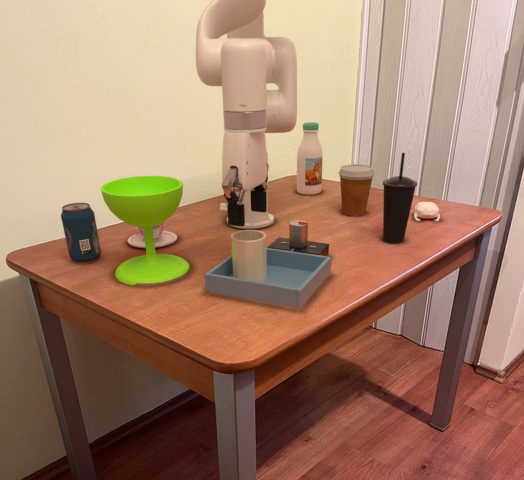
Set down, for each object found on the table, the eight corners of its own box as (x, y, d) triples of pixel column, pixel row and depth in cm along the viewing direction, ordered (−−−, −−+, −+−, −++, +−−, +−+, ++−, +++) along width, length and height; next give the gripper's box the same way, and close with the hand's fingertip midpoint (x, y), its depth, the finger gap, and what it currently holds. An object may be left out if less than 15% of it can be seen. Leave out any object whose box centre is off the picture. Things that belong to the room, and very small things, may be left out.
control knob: (286, 246, 118) (286, 223, 115) (293, 240, 121) (293, 217, 118) (303, 249, 116) (304, 225, 113) (309, 243, 119) (310, 219, 117)
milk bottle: (295, 194, 165) (296, 125, 155) (297, 188, 172) (299, 121, 161) (320, 195, 164) (323, 125, 154) (322, 189, 170) (324, 121, 160)
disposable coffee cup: (376, 210, 150) (380, 166, 143) (362, 219, 143) (366, 173, 137) (345, 206, 154) (348, 162, 148) (330, 214, 147) (332, 169, 141)
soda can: (68, 256, 123) (57, 204, 117) (99, 251, 125) (90, 200, 119) (72, 266, 118) (60, 212, 111) (104, 261, 120) (94, 208, 114)
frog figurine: (441, 222, 140) (443, 207, 138) (414, 221, 141) (416, 207, 139) (436, 213, 147) (438, 199, 145) (411, 212, 148) (412, 198, 146)
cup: (227, 282, 108) (224, 238, 103) (242, 269, 113) (240, 228, 108) (258, 287, 105) (257, 243, 101) (271, 274, 111) (271, 232, 106)
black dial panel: (265, 260, 119) (265, 247, 117) (280, 248, 125) (280, 235, 124) (317, 268, 115) (317, 254, 113) (329, 255, 121) (330, 242, 119)
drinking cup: (410, 246, 125) (422, 157, 115) (376, 244, 127) (385, 156, 116) (409, 235, 132) (420, 150, 121) (377, 234, 133) (385, 149, 123)
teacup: (117, 241, 131) (113, 216, 128) (157, 229, 139) (154, 205, 135) (147, 253, 124) (144, 227, 121) (187, 239, 132) (185, 214, 128)
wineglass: (125, 257, 122) (112, 176, 113) (195, 256, 122) (188, 175, 112) (105, 286, 108) (89, 196, 99) (184, 286, 108) (175, 196, 99)
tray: (205, 293, 105) (204, 274, 103) (245, 262, 118) (244, 244, 116) (300, 311, 98) (300, 290, 95) (330, 275, 111) (331, 256, 109)
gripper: (247, 114, 102) (249, 205, 111) (201, 127, 88) (208, 228, 97) (283, 116, 99) (283, 208, 108) (242, 129, 86) (246, 233, 94)
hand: (248, 218), depth 102 cm, fingers open, 9 cm apart
